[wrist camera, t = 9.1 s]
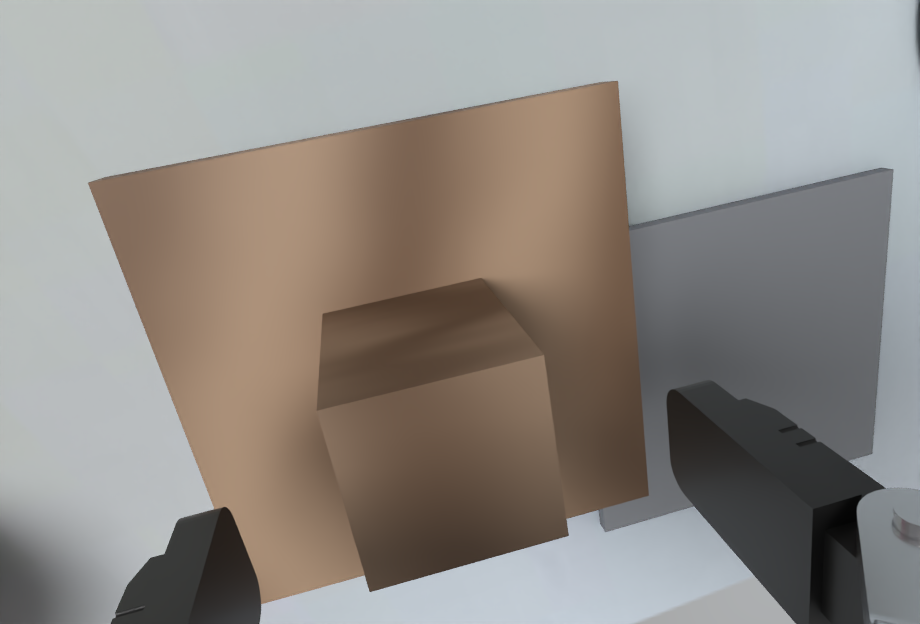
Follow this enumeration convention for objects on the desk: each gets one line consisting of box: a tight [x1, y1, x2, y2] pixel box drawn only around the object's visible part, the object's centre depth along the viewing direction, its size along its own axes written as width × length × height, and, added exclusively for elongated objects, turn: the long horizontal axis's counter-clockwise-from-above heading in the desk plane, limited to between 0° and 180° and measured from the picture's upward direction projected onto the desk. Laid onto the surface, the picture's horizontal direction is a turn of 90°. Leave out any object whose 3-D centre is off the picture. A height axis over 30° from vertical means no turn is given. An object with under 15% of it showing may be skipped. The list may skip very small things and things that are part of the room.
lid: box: [88, 81, 649, 604], centre depth 14 cm, size 12×12×6 cm
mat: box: [599, 168, 893, 532], centre depth 27 cm, size 14×14×1 cm
